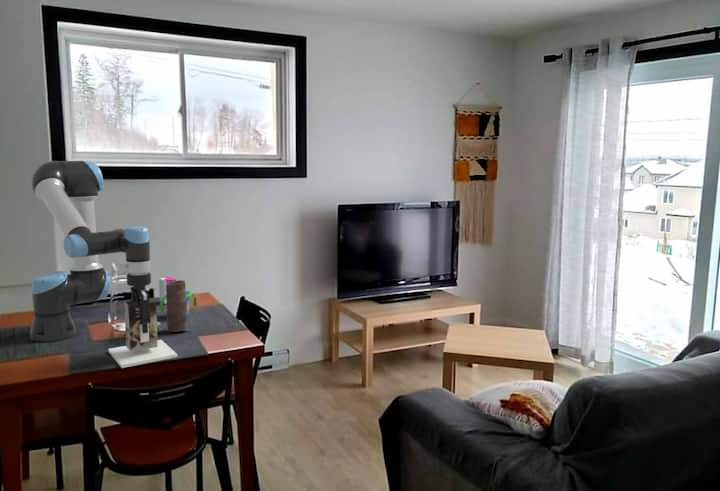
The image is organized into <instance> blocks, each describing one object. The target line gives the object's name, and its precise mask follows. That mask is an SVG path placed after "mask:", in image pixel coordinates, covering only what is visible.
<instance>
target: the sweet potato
mask: <svg viewBox="0 0 720 491" xmlns="http://www.w3.org/2000/svg"><path fill="white" fill-rule="evenodd" d="M186 291H187V289H186V280H181V279H179V280H176V281H169V282H168V283H167V284H166V298H167V304H166V321H167V324H166V325H167V331H168V332H173V333H178V332H186V331H188V316H187V308H186Z"/></svg>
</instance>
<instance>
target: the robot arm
mask: <svg viewBox="0 0 720 491" xmlns="http://www.w3.org/2000/svg"><path fill="white" fill-rule="evenodd" d="M31 188H32V191H33V193H34V195H35V197H37V198H38V199H39V200H41V201H43V203H44V204H45V206H46V208H47V209H48V210H49V213H50V214H51V215H52V217H53V219H54V220H55V222H56V224H57V226H58V227H59V229H60V230H61V231H62V233H63V234H64V238H63V249H64V253H65V254H66V256H67V257H68V258H73V264H72V266H70V268H69V270H70V272H69V273H70V274H69V273H68V274H67V272H65V271H52V272H45V273H43V274H39V275H38V276H36V277H34V278H33V279H32V281H31V296H32V310H33V320H32V324H31V325H30V326H31V327H30V331H29V339H30V340H31V341H34V342H38V343H39V342H40V343H46V342H57V341H62V340H65V339H69V338H71V337H74V336H75V335H76V333H77V329H76V325H75V322H74V321H73V320H74V319H73V318H72V315H71V312H70V306H73V305H78V304H84V303H85V304H86V303H91V302H97V301H99V300H104V299H105V298H106V297H107V296H108V294H110V290H111V284H112V282H111V277H110V273H109V271H108V270H106V269H104V266H103V264H101V263H100V262H99V255H108V254H117V253H125V264H124V268H126V273H127V274H126V284H127V285H128V286H130V296H131V297H130V298H131V299H130V301H136V303H137V304H139V314H140V323H138V324H140V342H141V343H142V342H148V341H149V324H148V323H150V321H151V320H150V308H149V299H150V293H148V290H147V288H146V286H148V285H150V284H151V283H152V275H151V273H150V272H151V270H152V267H151V255H150V254H151V252H150V248H151V247H150V234H149V228H148V227H146V226H138V225H137V226H135V225H134V226H128V227H126V228H125V229H123V228H114V229H111V230H109V231H97V224H96V221H97V220H96V210H95V200H96V199H97V198H98V197H99V194H98V193H99V192H101V191H102V190H103V188H104V177H103V173H102V170H101V169H100V167H99V166H98V165H97V163H95V162H93V161H88V160H50V161H46V162H44V163H42V164H41V165H39V166H38V167H37V168H36V169H35V170H34V173H33V175H32V178H31Z"/></svg>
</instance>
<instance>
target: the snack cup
mask: <svg viewBox="0 0 720 491" xmlns="http://www.w3.org/2000/svg"><path fill="white" fill-rule="evenodd" d="M192 297H193V298H194V300H193V306H194V307H197V306H198V300H197V297H196V294H195V293H192V292H191V291H189V290H186V308H187V317H188V316H189V314H190V304H191V299H192ZM165 299H166V300H167V298H166V294H165V296H164V297H163V298H162V299H161V302H160V301H159V310H160V312H161V313H164V304H163V301H164V300H165Z"/></svg>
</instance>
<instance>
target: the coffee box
mask: <svg viewBox="0 0 720 491" xmlns="http://www.w3.org/2000/svg"><path fill="white" fill-rule="evenodd" d="M149 308H150V320H151V321H150V323H148V324H149V341H148V342H142V343H141V342H140V324H138V323H140V314H139V304H137V303H136V301H131V300H127V301H124V324H125V329H124V330H125V346H126V347H127V348H128V349H129V350H130V352H132V351H138V350H143V349H149V348H154V347H158V343H157V340H158V331H157V322H158V321H157V320H158V319H157V301H156V300H154V299H152V297H151V298H150V297H149Z"/></svg>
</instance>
